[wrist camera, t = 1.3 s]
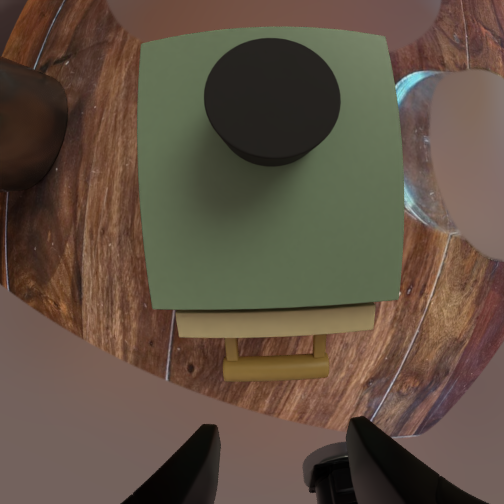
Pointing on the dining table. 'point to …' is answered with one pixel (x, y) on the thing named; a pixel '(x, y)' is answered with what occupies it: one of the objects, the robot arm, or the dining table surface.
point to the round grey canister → (28, 125)
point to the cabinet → (269, 185)
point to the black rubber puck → (272, 100)
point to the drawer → (275, 325)
